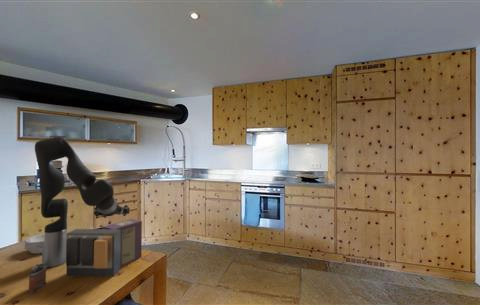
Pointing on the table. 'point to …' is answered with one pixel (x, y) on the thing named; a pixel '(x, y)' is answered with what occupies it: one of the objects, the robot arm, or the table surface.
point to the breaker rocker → (100, 253)
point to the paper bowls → (35, 244)
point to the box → (129, 239)
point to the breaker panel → (91, 252)
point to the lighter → (37, 278)
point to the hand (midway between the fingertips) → (115, 215)
